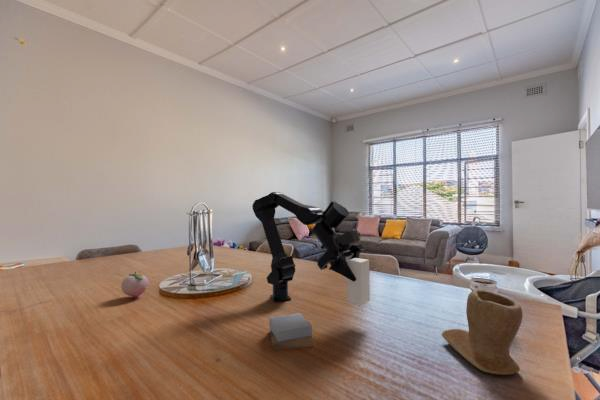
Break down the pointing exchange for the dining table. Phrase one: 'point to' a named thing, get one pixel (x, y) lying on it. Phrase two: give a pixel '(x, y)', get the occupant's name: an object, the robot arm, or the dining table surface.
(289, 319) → the tower top slab
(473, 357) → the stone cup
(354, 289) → the pillar
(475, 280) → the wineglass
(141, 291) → the decorative fruit
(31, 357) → the dining table surface
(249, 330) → the dining table surface
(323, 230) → the robot arm
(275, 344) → the tower base slab
